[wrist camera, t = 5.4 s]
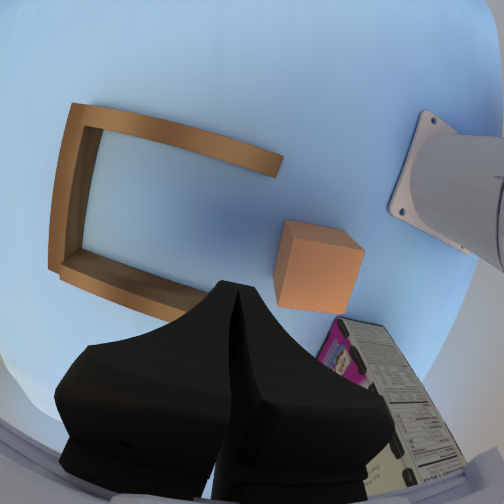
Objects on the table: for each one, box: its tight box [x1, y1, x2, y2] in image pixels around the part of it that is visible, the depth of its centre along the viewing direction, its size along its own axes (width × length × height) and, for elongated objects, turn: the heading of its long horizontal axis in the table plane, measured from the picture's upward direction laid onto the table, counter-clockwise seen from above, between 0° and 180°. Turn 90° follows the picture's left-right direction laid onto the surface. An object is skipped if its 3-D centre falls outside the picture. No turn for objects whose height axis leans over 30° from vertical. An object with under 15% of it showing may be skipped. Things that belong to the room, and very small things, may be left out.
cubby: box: [48, 103, 284, 323], centre depth 16 cm, size 13×11×3 cm
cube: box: [273, 219, 365, 314], centre depth 17 cm, size 4×4×4 cm
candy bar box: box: [316, 317, 467, 496], centre depth 15 cm, size 11×5×16 cm, turn 164°
